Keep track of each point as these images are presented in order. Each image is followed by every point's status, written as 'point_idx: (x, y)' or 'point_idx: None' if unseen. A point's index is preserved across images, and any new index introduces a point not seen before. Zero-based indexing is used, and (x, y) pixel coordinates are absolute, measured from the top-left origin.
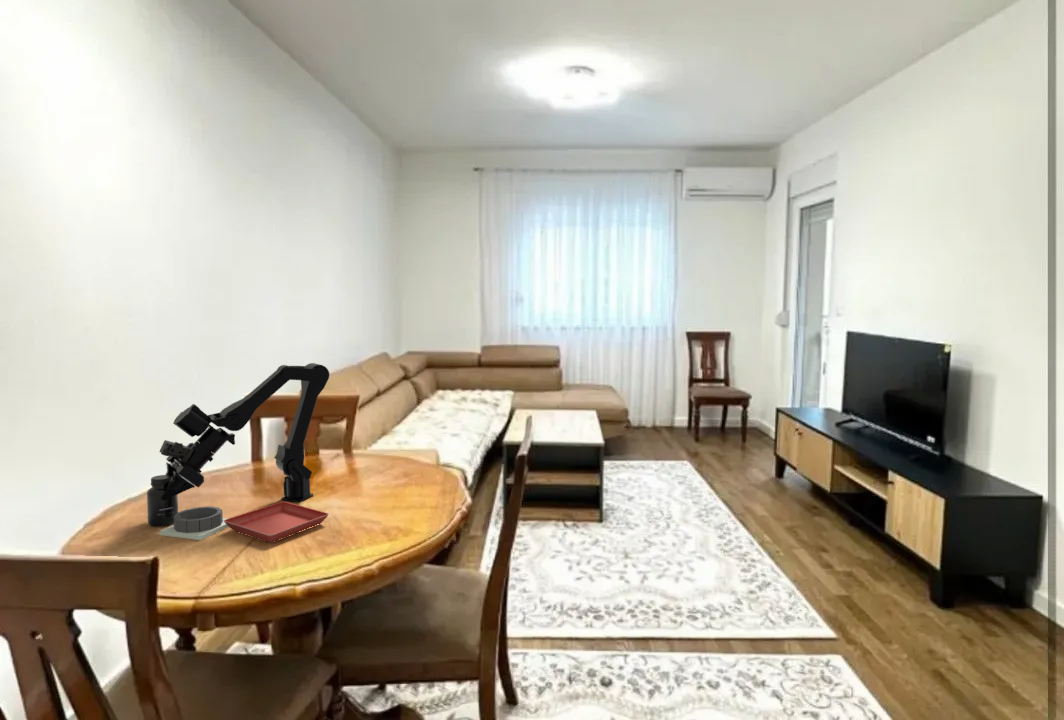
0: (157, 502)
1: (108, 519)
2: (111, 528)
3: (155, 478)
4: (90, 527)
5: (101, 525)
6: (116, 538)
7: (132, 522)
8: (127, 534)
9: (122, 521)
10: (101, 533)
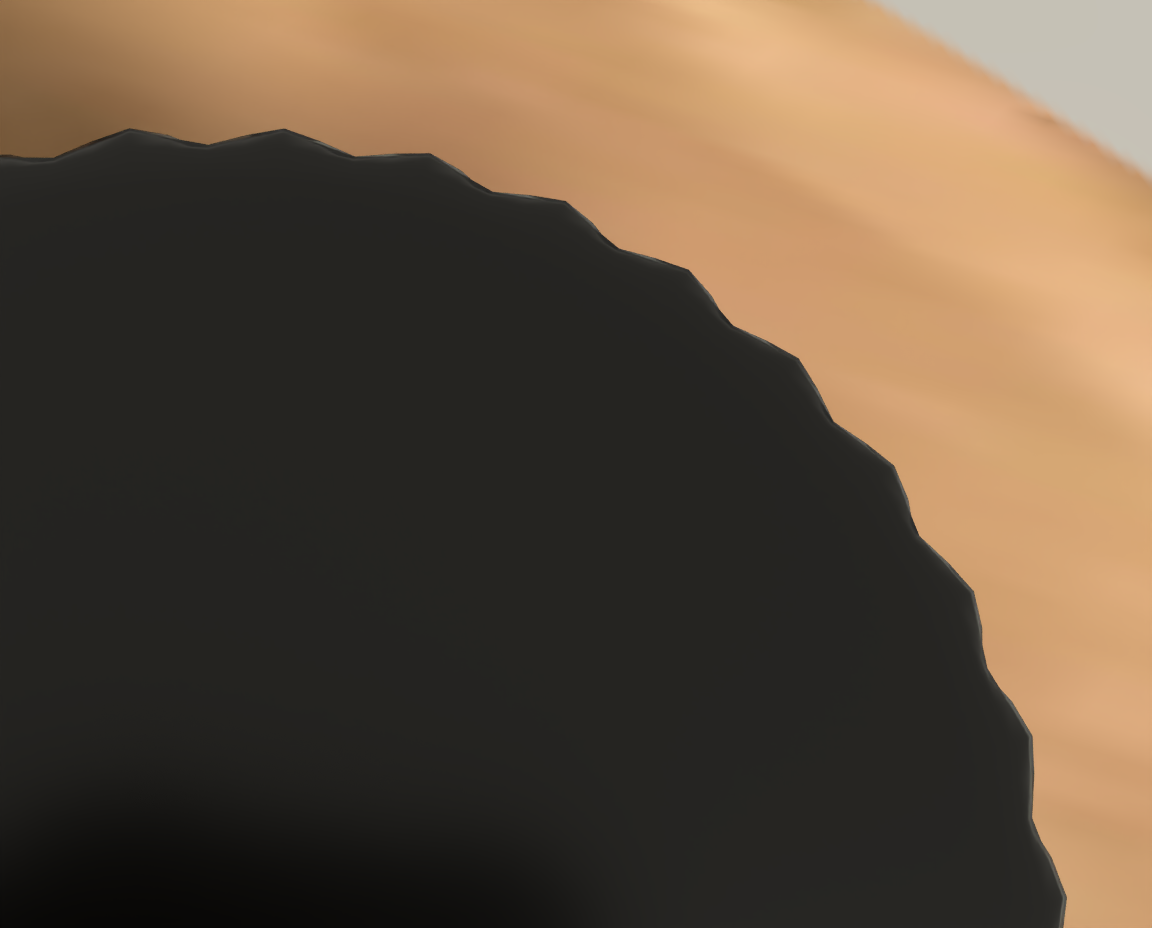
0: None
1: (1121, 272)
2: (677, 165)
3: (183, 362)
4: (909, 25)
5: (905, 131)
6: (145, 54)
7: None
8: None
9: (907, 367)
10: (547, 17)
